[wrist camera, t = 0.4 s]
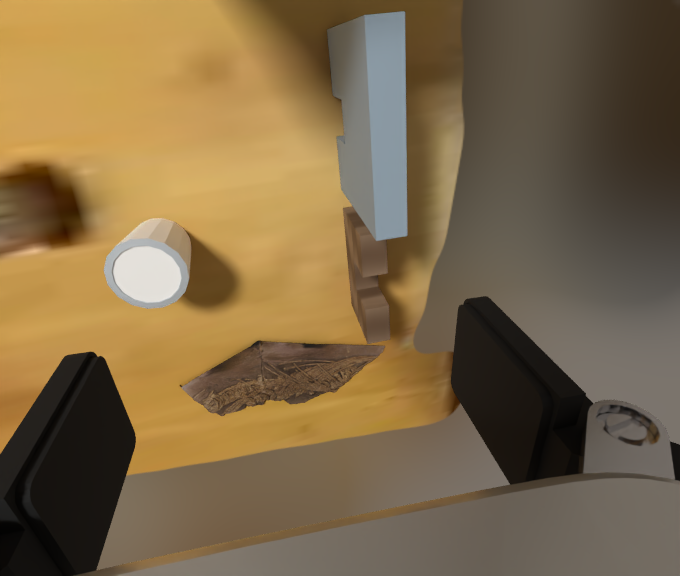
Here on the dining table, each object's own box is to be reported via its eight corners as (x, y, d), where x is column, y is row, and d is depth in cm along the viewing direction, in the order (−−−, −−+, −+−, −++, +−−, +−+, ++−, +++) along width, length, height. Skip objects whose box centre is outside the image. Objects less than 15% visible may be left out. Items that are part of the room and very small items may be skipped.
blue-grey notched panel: (326, 29, 36) (364, 15, 24) (354, 27, 36) (404, 11, 24) (341, 189, 43) (376, 240, 31) (363, 186, 43) (407, 235, 31)
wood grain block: (343, 208, 44) (359, 236, 37) (365, 204, 44) (386, 231, 37) (351, 304, 50) (367, 343, 43) (371, 300, 50) (390, 339, 43)
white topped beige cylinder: (207, 265, 44) (200, 298, 38) (142, 281, 44) (124, 317, 38) (183, 204, 41) (171, 230, 35) (112, 221, 40) (88, 249, 34)
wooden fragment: (191, 418, 54) (190, 424, 53) (170, 351, 48) (168, 356, 48) (383, 385, 57) (385, 390, 56) (383, 318, 52) (385, 323, 51)
